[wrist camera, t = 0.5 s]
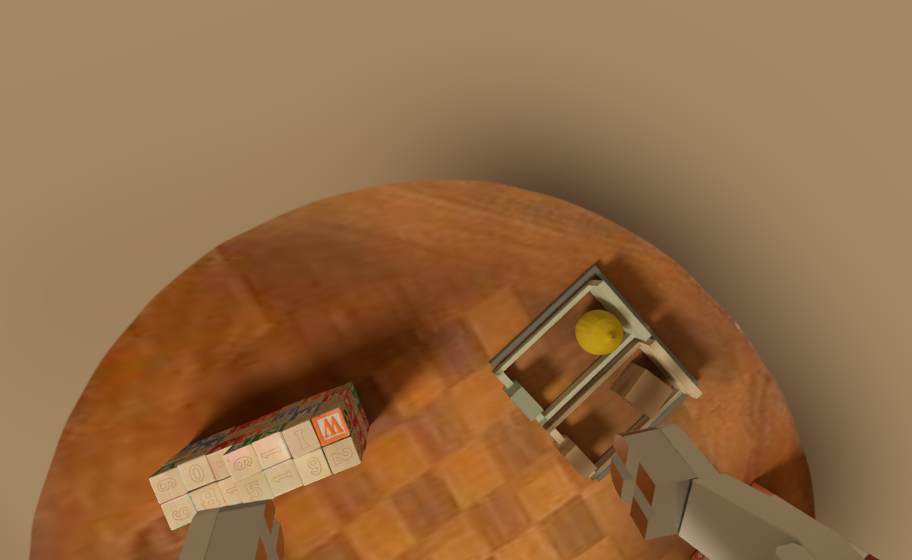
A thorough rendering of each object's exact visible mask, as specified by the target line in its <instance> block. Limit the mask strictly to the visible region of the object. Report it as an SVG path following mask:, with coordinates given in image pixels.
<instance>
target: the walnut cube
mask: <svg viewBox="0 0 912 560" xmlns="http://www.w3.org/2000/svg"><path fill="white" fill-rule="evenodd" d="M611 390H612V391H613V392H614V393H616V394H617V395H618V396H620V397H621V398H622V399H623V400H625V401H626V402H627V403H629V404H630V405H631V406H633V407H634V408H635V409H637V410H638V411H640V412H641V413H643V414H645V415H646V416H648V417H649V418H651V419H653V417H654V416H655V415H656V413H657V412H658V410H659V409H660V408H661V406H662V405H663V404H664V402H665V401H666V400H667V398H668V397H669V396H670V394H671V393H672V391H673V390H672V389H671V388H670V387H669V386H667V385H666V384H665V383H664V382H662V381H661V380H660V379H658V378H657V377H656V376H655V375H653V374H652V373H651V372H650V371H648V370H647V369H645V368H643V367H641V366H638V365H636V364H634V363H631V362H630V363H629V364H628V366H627V367H626V368H625V370H624V371H623V372H622V374H621V375H620V376H619V378H618V379H617V380H616V382H615V383H614V384H613V386H612V387H611Z"/></svg>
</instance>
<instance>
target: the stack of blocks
mask: <svg viewBox="0 0 912 560" xmlns="http://www.w3.org/2000/svg"><path fill="white" fill-rule="evenodd" d="M369 427H370V425H369V422H368V420H367V417H366V414H365V412H364V409H363V407H362V404H361V403H360V400H359V397H358V395H357V392H356V390H355V387H354V384H353V382H350V383H347V384H344V385H342V386H339V387H336V388H334V389H331V390H327V391H324V392H321V393H319V394H316V395H314V396H311V397H308V398H306V399H303V400H300V401H298V402H295V403H293V404H290V405H287V406H285V407H283V408H282V409H280V410H277V411H275V412H272V413H269V414H267V415H264V416H262V417H260V418H258V419H255V420H253V421H250V422H247V423H245V424H242V425H240V426H237V427H232V428H229V429H227V430H224V431H222V432H219V433H216V434H214V435H212V436H210V437H207V438H204V439H202V440H199V441H197V442H194V443H192V444H189V445H187V446H186V447H185V448H184V449H183V450H181V451H180V452H179V453H178V454H176V455H175V456H174V457H172V458H171V459H170V460H169V461H167V462H166V463H165V464H164V465H163V467H162V468H161V469H159V470H158V471H157V472H156V473H155V474H153V475H152V476H151V477H150V478H149V480H150V483H151V485H152V487H153V490H154V492H155V494H156V497H157V499H158V502H159V504H161V507H162V509H163V512H164V514H165V517H166V519H167V521H168V524H169V526H170V528H171V530H175V529H177V528H179V527H182V526H184V525H186V524H189V523H191V521H192V519H193V517H194V516H195V514H196V513H197V512H198V511H200V510H206V509H212V508H218V507H223V506H229V505H235V504H238V503H241V502H243V503H248V502H254V501H260V500H267V499H273V498H275V497H276V496H279V495H281V494H284V493H286V492H288V491H291V490H293V489H296V488H298V487H300V486H302V485H308V484H310V483H313V482H315V481H317V480H320V479H322V478H325V477H327V476H330V475H331V474H336V473H338V472H340V471H343V470H346V469H348V468H351V467H353V466H356V465H358V464H360V463H361V461H362V456H363V452H364V451H365V447H366V443H367V442H366V440H367V435H368V431H369Z"/></svg>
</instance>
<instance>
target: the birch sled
mask: <svg viewBox="0 0 912 560" xmlns="http://www.w3.org/2000/svg"><path fill="white" fill-rule="evenodd" d="M638 348H640V349H641V350H642V351H643V352H644V353H645V354H646V356H647V357H648V358H649V359H650V360H651V361H652V362H653V363H654V365H655V366H656V367H657V368H658V369H659V370H660V371H661V373H662V374H663V375H664V376H665V377H666V378H667V379H668V381H669V382H670V383H671V384H672V385H673V386H674V387H673V388H672V390H673V391H672V393H671V394H670V396H669V397H668V398H667V400H666V401H665V402H664V404H663V405H662V406H661V408H660V409H659V410H658V412H657V413H656V415H655V416H654V417H653V419H651V418H649V417H648V416H646V415H644V416H643V417H642V418H641V419H640V420H639V421H638V422H637V423H636V424H635V425H634V426H633V427H632V428H631V429H630V430H629V431H628V432H630V431H635V430H640V429H645V428H648V427H649V426H650V425H651V424H652V423H653V422H654V421H655V420H656V419H657V418H658V417H659V416H660V415H661V414H662V413H663V412H664V411H665V410H666V409H667V408H668V407H669V406H670V405H671V404H672V403H673V402H674V401H675V400H676V399H677V398H678V397H679V396H681V395H682V394H683V393H685V394H687V395H689V396H691V397H693V398H696V399H697V398H698V397H699V396H701V395H702V392H701V391H700V390H699V389H698V388H697V387H696V386H695V384H694V383H693V382H692V381H691V380H690V379H689V378H688V376H687V375H686V374H685V373H684V372H683V371H682V370H681V368H680V367H679V366H678V365H677V364H676V363H675V362H674V360H673V359H672V358H671V357H670V356H669V355H668V354H667V352H666V351H665V350H664V349H663V348H662V347H661V346H660V344H659V343H658V342H657V341H656V340H653V339H650V338H649V339H647V340H646V341H644V340H641V339H638V338H635V339H634V340H633V341H632V342H631V343H630V344H629V345H628V346H627V347H626V348H624V349H623V350H622V351H621V352H620V353H619V354H618V355H617V356H616V357H615V358H614V359H613V360H612V361H611V362H610V363H609V364H608V365H607V366H606V367H605V368H604V369H603V370H601V371H600V372H599V373H598V374H597V375H596V376H595V377H594V378H593V379H592V380H591V381H590V382H589V383H588V384H587V385H586V386H585V387H584V388H583V389H582V390H581V391H580V392H579V393H577V394H576V395H575V396H574V397H573V398H572V399H571V400H570V401H569V402H568V403H567V404H566V405H565V406H564V407H563V408H562V409H561V410H560V411H559V412H558V413H557V414H556V415H554V416H553V417H552V418H551V419H550V420H549V421H548V422H547V423H546V424H545V425H544V426H543V427H544V428H545V430H546V431H547V432H548V433H549V434H550V435H551V436H552V437H553V438H554V439H555V440H556V441H555V442H554V443H553V444H554V445H555V446H556V447H557V448H558V450H559V451H560V452H561V453H562V454H563V456H564V457H565V458H566V459H567V460H568V461H569V462H570V463H571V464H572V465H573V467H574V468H575V469H576V470H577V471H578V472H579V473H580V474H581V475H582V476H583V477H584V478H585V480H586V479H587V478H588V477H590V478H591V479H592V480H594V479H595V478H596V477H597V476H598V475H599V474H600V473H601V472H603V471H604V470H605V469H606V468H607V467H608V466H609V465H610V464H611V458H612V457H613V456H614V455H615V454H616V453H617V452H616V450H615V448H614V447H612V448H611V449H609V450H608V451H607V452H606V453H605V454H604V455H603V456H602V457H601V458H600V459H599V460H598V461H597V462H596V463H595V464H593V463H592V462H591V461H590V460H589V459H588V458H587V456H586V455H585V454H584V453H583V452H582V451H581V450H580V449H579V448H578V447H577V446H576V445H575V443H574V442H573V441H572V440H571V439H570V438H569V437H568V436H567V435H566V434H565V433H563V434H562V435H561V434H560V433H559V432H558V431H557V430H556V429H555V428H556V427H557V426H558V425H559V424H560V423H561V422H562V421H563V420H564V419H565V418H566V417H567V416H568V415H569V414H570V413H571V412H572V411H574V410H575V409H576V408H577V407H578V406H579V405H580V404H581V403H582V402H583V401H584V400H585V399H586V398H587V397H588V396H589V395H590V394H591V393H592V392H593V391H594V390H595V389H596V388H597V387H599V386H600V385H601V384H602V383H603V382H604V381H605V380H606V379H607V378H608V377H609V376H610V375H611V374H612V373H613V372H614V371H615V370H616V369H617V368H618V367H619V366H620V365H621V364H622V363H624V362H625V361H626V360H627V359H628V358H629V357H630V356H631V355H632V354H633V353H634V352H635V351H636V350H637V349H638Z"/></svg>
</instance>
